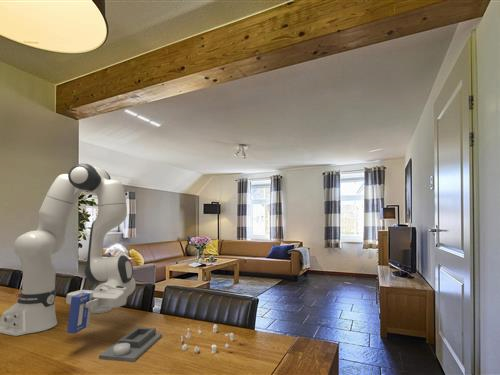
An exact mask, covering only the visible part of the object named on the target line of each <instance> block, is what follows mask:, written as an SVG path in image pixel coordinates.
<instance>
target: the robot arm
mask: <svg viewBox="0 0 500 375" xmlns="http://www.w3.org/2000/svg"><path fill="white" fill-rule="evenodd" d="M123 185H124V184H123V182H121V181H119V180H117V179H111V176H110V174H109V172H107V171H105V170H104V169H102V168H100V167H98V166H95V165H91V164H88V163H78V164H75V165H73V166H72V167H71V168H70V169H69V172H68V173H61V174H59V175H58V176H56V178H55V180H54V181H53V182H52V184H51V185H50V187H49V189H48V190H47V193H46V195H45V198H44V200H43V202H42V204H41V207H40V208H39V211H38V216H39V220H38V226H37V229H36V230H30V231H27V232H25V233H23V234H21V235H20V236H18V237H17V238H16V239H15V240H14V244H13V251H14V253H15V255H16V256H18V259H19V261H20V265H21V270H22V286H21V287H22V288H21V293H19V294H15V296H14V297H15V298H16V299H17V301H16V302H15V303H14V304H13V305H12V306H10V307H8V308H7V309H6V310H5V311H3V313H2V314H1V317H0V334H5V335H9V336H13V337H18V336H23V335H26V334H27V335H28V334H33V333H38V332H43V331H46V330H49V329H52V328H53V327H55V326H57V325H58V320H57V316H56V306H55V305H56V304H55V301H56V298H57V297H56V296H57V295H56V294H57V289H56V288H55V287H56V272H57V271H56V268H55V267H54V265H53V260H52V255H53V254H56V253H57V252H59V251H60V250H61V249H62V248H63V247H64V245H65V244H66V237H65V236H66V231H67V226H68V221H69V219H70V216H71V214H72V212H73V210H74V208H75V205H76V202H77V200H78V197H79V196H80V194H81V193H83V192H85V193H93V194H95V195H96V197H97V206H98V207H97V208H98V210H97V215H96V217H95V219H94V220H93V221H92V222H91V227H90V233H89V238H88V239H89V241H88V251H87V259H86V264H85V266H84V276H85V278H86V279H87V280H88V281H89V282H90V283H91V284H98V283H99V284H98V285H97V286H96V287H95V288H94V290H91V289H79V290H76V291H71V292H69V293H67V294H66V297H65V299H66V300H65V302H66V304H67V305H71V298H72V296H75V295H77V294H80V293H83V292H86V291H89V292H93V297H92V301H86V302H84V304H83V307H84V308H89V307H93V306H96V307H108V308H113V309H117V308H120V307H123V306H125V305H126V304H127V297H129V296H130V295H131V294H132V293H133V292H134V291H135V289H136V280H135V278H134V277H133V274H134V267H133V263H132V262H131V259H130V258H129V257H128V256H127V255H124V254H123V255H112V256H107V257H104V256H103V251H104V250H103V249H104V240H105V237H106V235H107V234H108V233H109V232H110V231H112V230H114V228H116V227H119V226H120V225H121V224H123V223H124V221H125V220H126V218H127V214H128V206H127V198H126V197H127V196H126V192H125V188H124V186H123Z"/></svg>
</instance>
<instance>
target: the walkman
mask: <svg viewBox="0 0 500 375" xmlns="http://www.w3.org/2000/svg"><path fill="white" fill-rule="evenodd" d="M92 297H93V292H89V291H86V292H83V293H80V294H77V295H75V296H72V298H71V304H70V307H69V315H68V323H67V324H68V325H67V328H66V329H67V330H66V333H67V334H72V335H73V334H77V333H78V332H80V331H82V330H84V329H86V328H88V327H89V326H90V322H91V321H90V320H91V314H92V313H91V307H89V308H84V307H83V304H84V302H86V301H92Z"/></svg>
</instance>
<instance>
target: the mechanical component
mask: <svg viewBox="0 0 500 375" xmlns="http://www.w3.org/2000/svg"><path fill="white" fill-rule="evenodd" d="M112 310H114V308H108V307H96V306H92V307H91V314H104V313H108V312H111V311H112Z"/></svg>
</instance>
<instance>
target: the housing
mask: <svg viewBox="0 0 500 375" xmlns="http://www.w3.org/2000/svg"><path fill="white" fill-rule="evenodd" d="M156 330H157V328H156V327H144V326H143V327H142V326H137V327H135V328H134V329H132V330H131V331H130V332H128V333H126V334H125V335H124V336H122V337H120V338H119V339H118V340H117V342H116V343H114V344H113V345H111V346H110V347H109V348H107V349H106V350H104V351H103V352H101V353H100V354H99V355H98V359H99V360H100V359H102V360H111V361H123V362H135V361H136V360H138V358H139V357H141V356H142V355H143V354H144V353H145V352H146V351H147V350H149V349H150V348H151V347H152V346H153V345H155V343H156V342H157V341H159V338H160V337H161V338H162V337H163V333H162V332H161V333H160V332H157V331H156ZM161 338H160V339H161Z"/></svg>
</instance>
